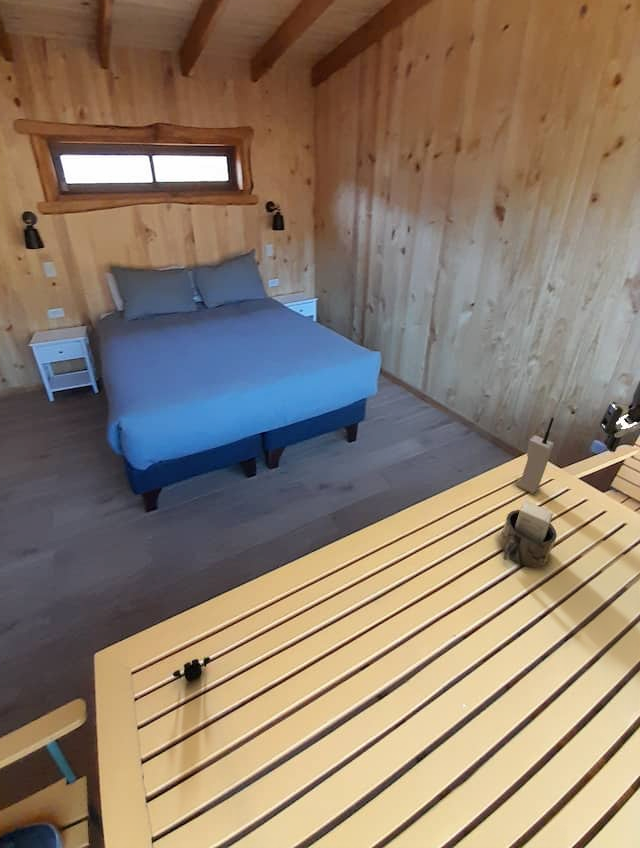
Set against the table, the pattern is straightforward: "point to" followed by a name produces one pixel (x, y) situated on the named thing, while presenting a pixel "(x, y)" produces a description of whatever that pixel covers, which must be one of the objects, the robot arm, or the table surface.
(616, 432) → the robot arm
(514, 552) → the mug
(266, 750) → the table surface
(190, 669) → the wireless earbuds
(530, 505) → the cosmetic box
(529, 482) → the vintage mobile phone
